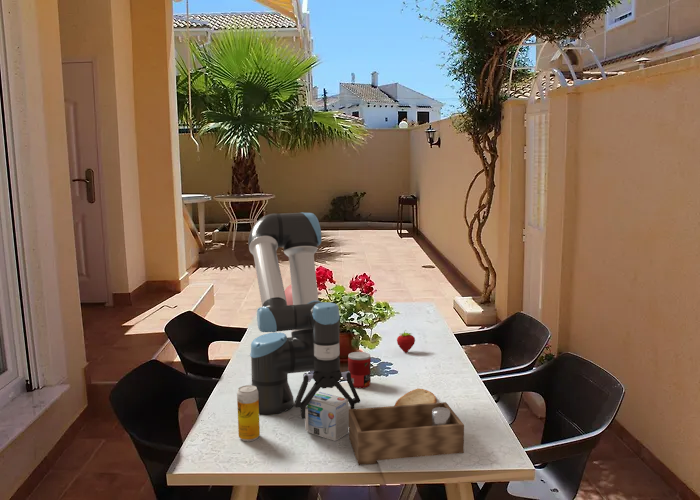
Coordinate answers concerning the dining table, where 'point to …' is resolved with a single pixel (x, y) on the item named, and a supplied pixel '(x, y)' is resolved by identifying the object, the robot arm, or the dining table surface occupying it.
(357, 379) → the canned food
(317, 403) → the light bulb box
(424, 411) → the crate
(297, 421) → the dining table surface
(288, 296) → the pink rounded piece
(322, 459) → the dining table surface
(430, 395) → the slice of bread
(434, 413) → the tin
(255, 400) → the beer can
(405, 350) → the strawberry
